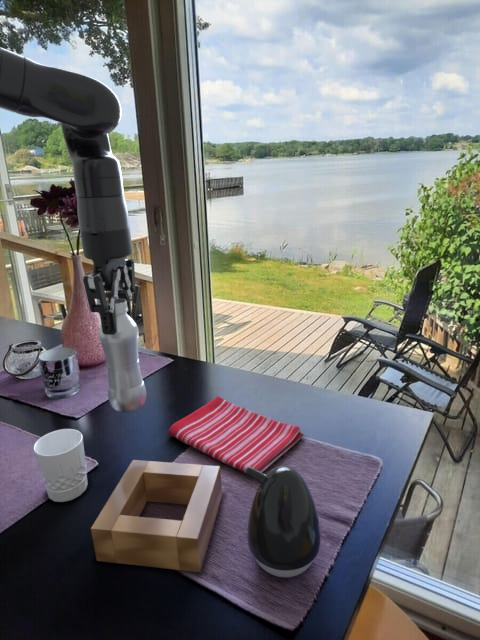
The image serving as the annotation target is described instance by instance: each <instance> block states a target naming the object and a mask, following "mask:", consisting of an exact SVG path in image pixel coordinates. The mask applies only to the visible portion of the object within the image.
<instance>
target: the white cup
mask: <svg viewBox="0 0 480 640" xmlns="http://www.w3.org/2000/svg"><path fill="white" fill-rule="evenodd" d="M33 452H34V456H35V460H36V463H37V466H38V469H39V473H40V476H41V479H42V483H43V485H44V487H45V489H46V493H47V496H48V499H49V500H51V501H52V502H55V503H64V502H69V501H70V502H71V501H73V500H74V499H77V498H78V497H81V496H82V494H83V493H84V492H85V491H86V490H87V488H88V484H89V482H88V474H87V461H86V452H85V444H84V436H83V434H82V432H81V431H79V430H78V429H74V428H61V429H57V430H54V431H51V432H48V433H46V434H44V435H43V436H41V437H40V438H38V439H37V440H36V441H35V443H34V444H33Z"/></svg>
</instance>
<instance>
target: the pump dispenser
mask: <svg viewBox="0 0 480 640" xmlns="http://www.w3.org/2000/svg"><path fill="white" fill-rule="evenodd" d="M245 474H246V475H247V476H248V477H250V478H251V479H253V480H254V481H256V482H257V483H258V484H259V485H258V488H257V489H256V492H255V493H254V497H253V499H252V503H251V506H250V510H249V515H248V523H247V534H246V535H247V539H246V540H247V546H248V549H249V551H250V553H251V554H252V556H253V558H254V559H255V561H256V563H257V564H258V565H259V566H260V567H261V569H263V571H265V572H267V573H268V574H270V575H272V576H275V577H278V578H292V577H293V578H294V577H296V576H299V575H301V574H302V573H304V572H305V571H306V570H307V569H309V567H310V566H311V565H312V564H313V562H314V560H315V558H316V557H317V556H318V554H319V551H320V549H321V541H322V538H321V526H320V520H319V514H318V510H317V507H316V504H315V501H314V498H313V495H312V493H311V490H310V488H309V486H308V484H307V481H305V479H304V478H303V476H302V475H301V474H300V473H299V471H297V470H296V469H294V468H293V467H290V466H286V465H280V466H276V467H274V468H272V469H271V470H269V471H268V472H267V473H264V472H260V471H258V470H256V469H254V468H252V467H248V468H247V470H246V473H245Z"/></svg>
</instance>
